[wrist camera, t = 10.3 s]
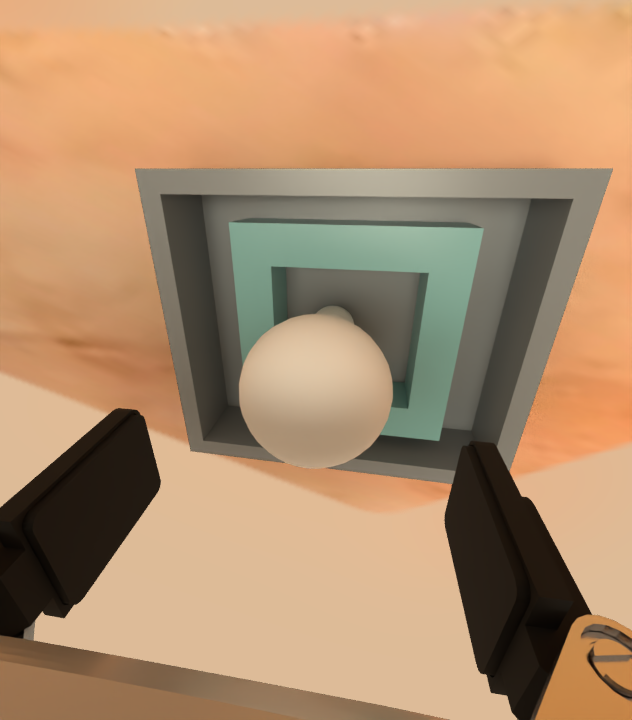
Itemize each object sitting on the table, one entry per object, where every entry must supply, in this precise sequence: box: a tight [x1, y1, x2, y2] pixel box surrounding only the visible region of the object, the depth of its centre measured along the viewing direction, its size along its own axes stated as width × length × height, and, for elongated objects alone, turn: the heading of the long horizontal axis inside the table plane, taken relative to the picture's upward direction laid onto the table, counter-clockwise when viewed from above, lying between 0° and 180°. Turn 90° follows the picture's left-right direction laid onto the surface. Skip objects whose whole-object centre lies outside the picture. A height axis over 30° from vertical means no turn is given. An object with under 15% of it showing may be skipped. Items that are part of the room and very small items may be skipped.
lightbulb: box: [239, 306, 393, 469], centre depth 16 cm, size 6×6×11 cm
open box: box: [135, 169, 613, 484], centre depth 20 cm, size 19×16×5 cm
